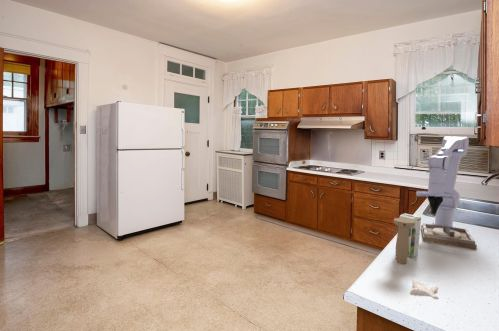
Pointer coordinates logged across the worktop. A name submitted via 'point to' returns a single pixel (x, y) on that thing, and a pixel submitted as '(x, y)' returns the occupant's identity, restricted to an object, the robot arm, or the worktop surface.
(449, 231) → the dial
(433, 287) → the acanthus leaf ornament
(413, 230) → the syrup box
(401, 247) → the handle
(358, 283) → the worktop surface
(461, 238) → the dial housing
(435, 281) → the worktop surface
